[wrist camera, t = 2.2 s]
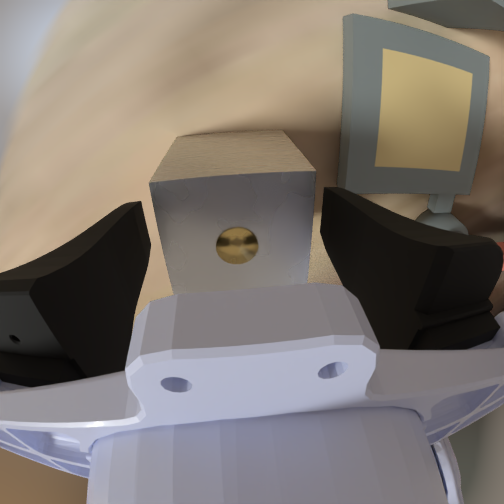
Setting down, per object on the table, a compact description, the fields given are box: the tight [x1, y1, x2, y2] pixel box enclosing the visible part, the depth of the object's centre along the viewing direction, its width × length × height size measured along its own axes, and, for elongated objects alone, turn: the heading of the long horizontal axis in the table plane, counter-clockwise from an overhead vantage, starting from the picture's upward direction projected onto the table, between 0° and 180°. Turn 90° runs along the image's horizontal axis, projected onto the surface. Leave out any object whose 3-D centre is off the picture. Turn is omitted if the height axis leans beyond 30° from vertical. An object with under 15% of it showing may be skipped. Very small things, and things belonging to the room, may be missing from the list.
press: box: [337, 0, 504, 235], centre depth 10 cm, size 18×10×9 cm, turn 2°
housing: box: [149, 130, 316, 295], centre depth 12 cm, size 5×5×6 cm
